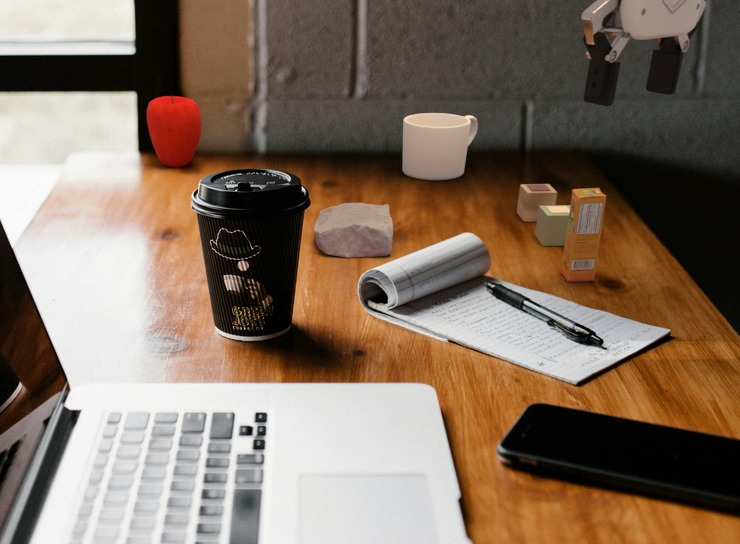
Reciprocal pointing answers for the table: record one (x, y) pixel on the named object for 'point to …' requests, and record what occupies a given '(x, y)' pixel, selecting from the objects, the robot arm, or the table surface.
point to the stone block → (355, 230)
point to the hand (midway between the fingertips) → (629, 98)
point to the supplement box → (583, 234)
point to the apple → (174, 129)
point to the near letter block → (552, 225)
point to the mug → (436, 145)
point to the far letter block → (534, 200)
